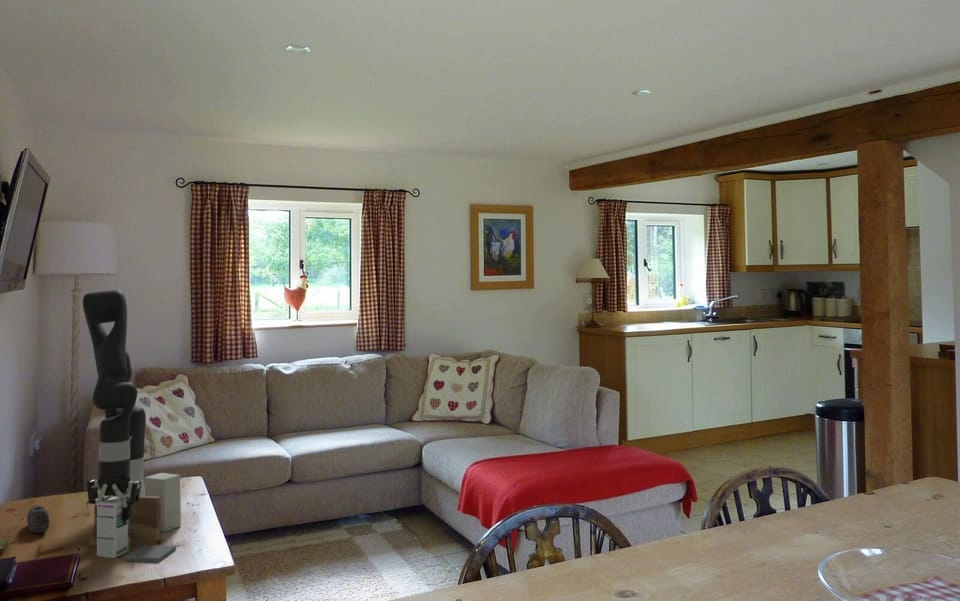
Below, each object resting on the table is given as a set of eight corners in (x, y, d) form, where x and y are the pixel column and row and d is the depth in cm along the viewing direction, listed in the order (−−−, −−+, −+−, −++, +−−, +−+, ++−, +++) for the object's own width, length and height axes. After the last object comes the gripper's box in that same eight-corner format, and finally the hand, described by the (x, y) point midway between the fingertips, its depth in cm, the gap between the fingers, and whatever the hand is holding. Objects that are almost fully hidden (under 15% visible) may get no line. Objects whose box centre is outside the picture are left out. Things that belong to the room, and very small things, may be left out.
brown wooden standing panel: (102, 538, 201) (103, 492, 201) (163, 540, 200) (164, 494, 200) (89, 545, 195) (90, 498, 195) (152, 547, 194) (153, 500, 194)
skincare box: (181, 526, 212) (182, 474, 212) (163, 533, 206) (164, 479, 206) (161, 522, 215) (162, 471, 215) (142, 528, 209) (143, 476, 209)
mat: (143, 548, 193) (143, 545, 193) (175, 549, 192) (175, 546, 192) (125, 560, 184) (125, 557, 184) (158, 562, 183) (158, 558, 183)
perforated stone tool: (25, 524, 212) (25, 500, 212) (45, 521, 216) (46, 498, 216) (28, 538, 200) (28, 513, 200) (50, 534, 203) (50, 510, 203)
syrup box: (115, 558, 185) (116, 503, 185) (95, 556, 187) (96, 501, 187) (130, 551, 191) (131, 497, 191) (111, 549, 192) (112, 495, 192)
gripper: (148, 455, 192) (147, 516, 192) (96, 453, 193) (96, 514, 193) (132, 461, 185) (131, 525, 185) (79, 459, 186) (78, 523, 186)
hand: (113, 519), depth 189 cm, fingers closed on syrup box, 6 cm apart
